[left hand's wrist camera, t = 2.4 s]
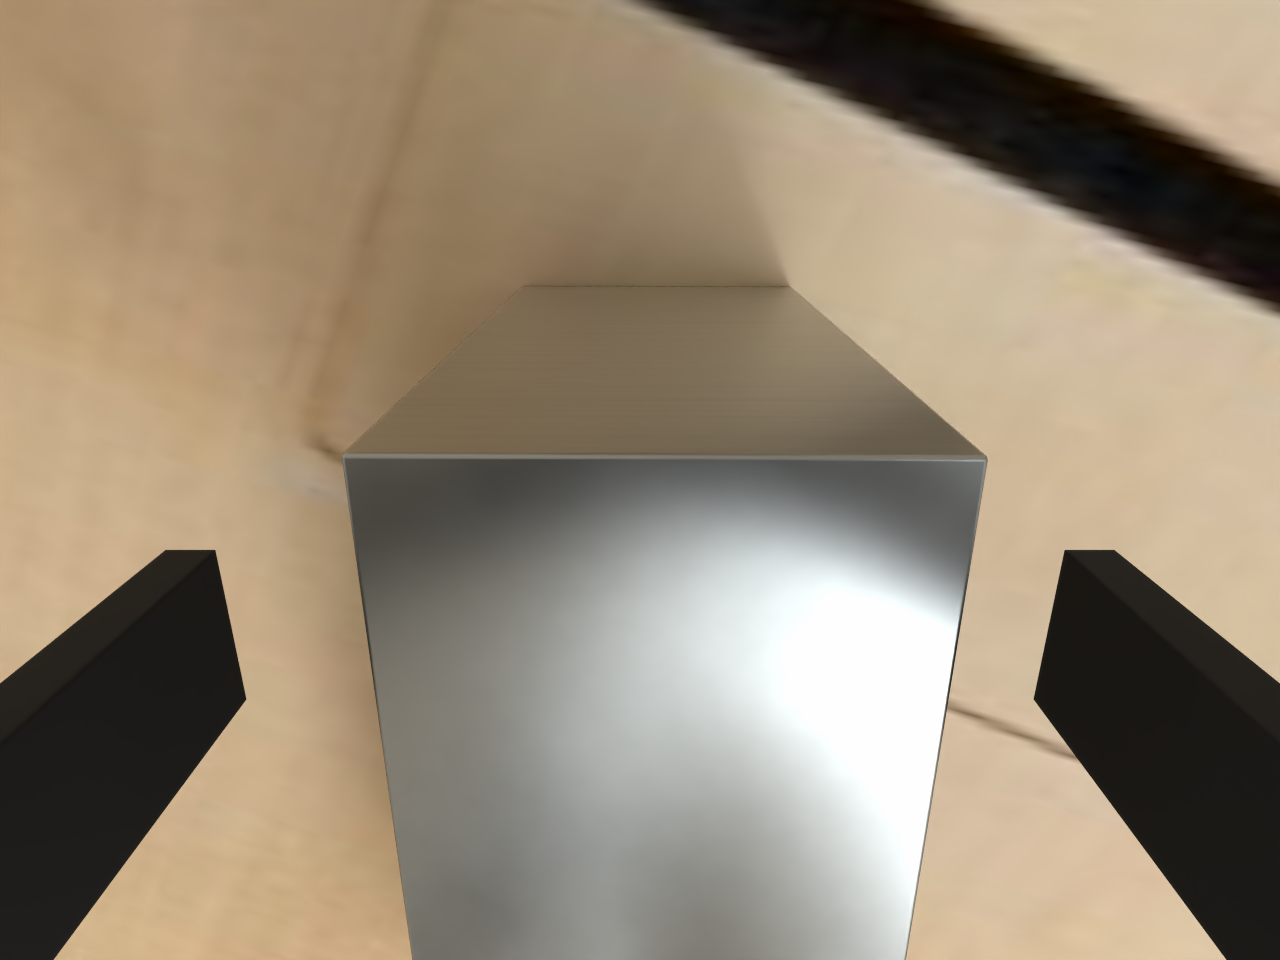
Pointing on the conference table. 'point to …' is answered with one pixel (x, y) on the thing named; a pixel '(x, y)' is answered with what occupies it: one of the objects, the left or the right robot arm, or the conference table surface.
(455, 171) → the conference table surface
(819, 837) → the box
